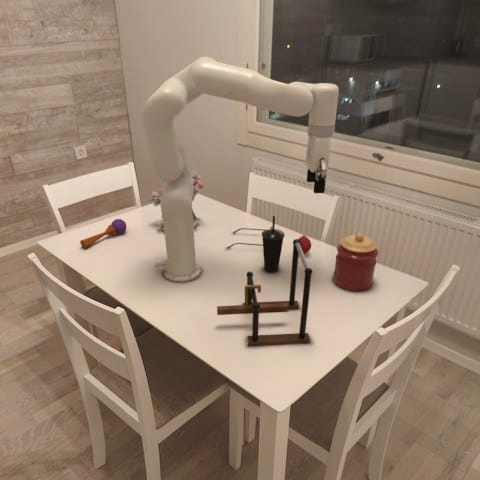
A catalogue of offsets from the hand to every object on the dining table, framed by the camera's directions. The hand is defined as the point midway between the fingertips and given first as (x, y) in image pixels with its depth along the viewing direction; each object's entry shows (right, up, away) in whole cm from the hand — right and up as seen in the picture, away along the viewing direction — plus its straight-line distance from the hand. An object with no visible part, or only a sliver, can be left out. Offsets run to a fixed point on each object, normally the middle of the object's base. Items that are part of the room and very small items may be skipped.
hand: (315, 187), depth 138 cm
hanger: (-20, -37, -12) cm, 44 cm away
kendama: (-76, -12, +37) cm, 86 cm away
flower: (-49, -7, +46) cm, 67 cm away
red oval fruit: (0, -19, +27) cm, 33 cm away
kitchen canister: (+14, -29, +11) cm, 34 cm away
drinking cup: (-12, -25, +18) cm, 33 cm away
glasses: (-19, -14, +35) cm, 42 cm away
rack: (-13, -42, -9) cm, 45 cm away
